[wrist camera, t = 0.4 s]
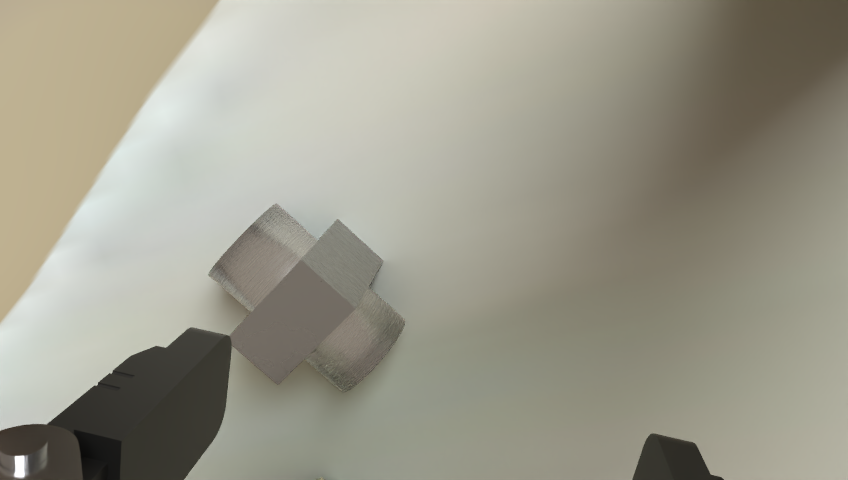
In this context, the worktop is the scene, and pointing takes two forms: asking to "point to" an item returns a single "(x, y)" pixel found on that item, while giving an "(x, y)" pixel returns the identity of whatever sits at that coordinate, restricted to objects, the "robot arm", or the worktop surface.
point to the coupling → (307, 300)
